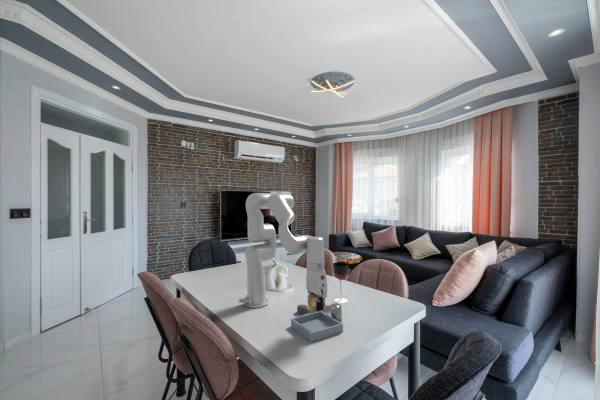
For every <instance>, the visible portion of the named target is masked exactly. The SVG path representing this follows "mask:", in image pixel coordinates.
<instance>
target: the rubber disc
mask: <svg viewBox="0 0 600 400" xmlns="http://www.w3.org/2000/svg"><path fill="white" fill-rule="evenodd" d="M296 308H297V314H298V315H301V314H302V315H301V316H303V315H307V314H309V313H308V304H298V305H297V307H296Z"/></svg>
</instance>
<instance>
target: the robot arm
mask: <svg viewBox="0 0 600 400" xmlns="http://www.w3.org/2000/svg"><path fill="white" fill-rule="evenodd" d="M294 206H295V200H294V197H293V196H292V195H291V194H289V193H277V192H253V193H251V194H249V195H248V197H247V198H246V201H245V210H246V214H247V238H248V241H249V242H250V243H257V244H252V245H249V246H248V247H247V248H246V249H245V250H244V257H245V264H246V279H247V280H246V281H247V282H246V285H247V286H246V288H247V294H246V295H245V296H244V297H243V298H239V299H238V301H237V302H238V303H239V304H241V303H242V304H244V306H245V307H247V308H252V309H258V308H262V307H265V306H267V305H268V304H269V300H268V299H267V298H266V270H265V267H264V266H263V264H262V263H263V262H266V261H271V260H273V259H274V258H275V257H276V253H277V231H276V229H275V227H274V226H273V224H270V223H264V218H265V217H264V214H263V213H262V211H261V210H270V212H271V213H272V214H273V216H274V219H275V220H276V221H277V222H278V224H279V225H278V229H277V230H278V239H279V241H280V243H281V245H282V246H283V248H284V249H285V250H286V252H287V253H289V254H290V255H297V254H301V253H306V280H305V281H306V284H305V285H306V286H305V288H306V290H307V293H308V295H312V294H316V296H317V302H316V308H317V311H322V310H323V301H324V299H325V300H326V298H327V297H328V279H327V273H326V272H327V271H326V270H325V240H324V238H323V237H321V236H312V235H309V234H303V235H295V236H293V234H292V232H291V231H290V230H289V226H290V225H291V224H292V223H294V221H295V218H296V217H295V216H296V215H295V213H294V212H293V210H292V209H293V208H294ZM261 242H262V243H261ZM258 243H259V244H258ZM319 295H321V297H320V298H319ZM323 311H324V310H323ZM323 311H322V312H323Z"/></svg>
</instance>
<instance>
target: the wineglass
mask: <svg viewBox="0 0 600 400" xmlns="http://www.w3.org/2000/svg"><path fill="white" fill-rule="evenodd" d="M332 267H333V268H332V269H333V270H332V271H333V275H334V277H335V278H337V279H338V280H339V297H338V298H337V297H336V298H335V299H334V300H333V301H334V302H335V303H336V304H346V303H348V302H349V301H348V299H346V298H344V297H342V295H343V293H342V281H343V280H345V279H346V278H347V276H348V272H349V271H348V270H349V264H348V263H346V262H339V261H337V262H333V263H332Z"/></svg>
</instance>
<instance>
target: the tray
mask: <svg viewBox="0 0 600 400" xmlns="http://www.w3.org/2000/svg"><path fill="white" fill-rule="evenodd" d="M343 325H344V324H343V323H342V322H341V323H340V322H339V321H337V320H335V319H334V318H332V317H331V315H328V314H327V313H325V312H324V311H319V312H315V313H313V312H311V313H307V314H303V315H300V316H297V317H293V318H290V327H291V328H292V329H294V330H295V331H296V332H298V334H300V335H301V336H302V337H304V339H306V340H308V341H309V342H310V343H313V342H316V341H319V340H323V339H325V338H328V337H333V336H334V335H337V334H340V333H343V332H344V326H343Z"/></svg>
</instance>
